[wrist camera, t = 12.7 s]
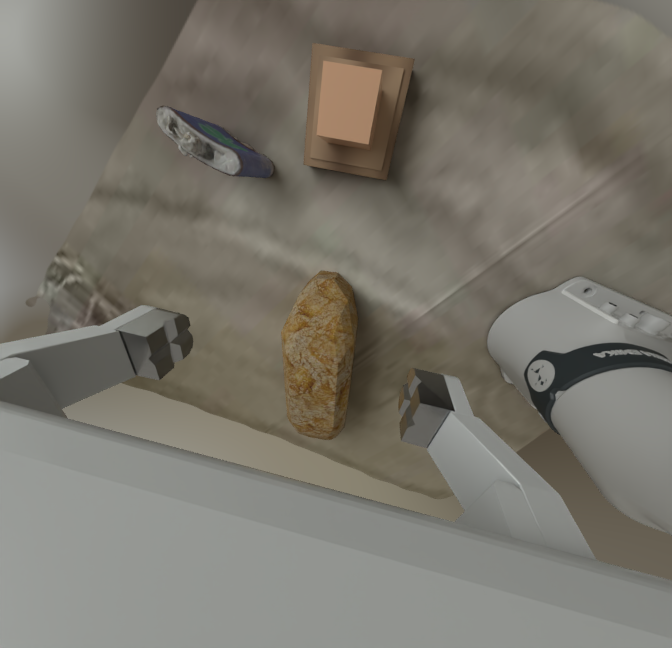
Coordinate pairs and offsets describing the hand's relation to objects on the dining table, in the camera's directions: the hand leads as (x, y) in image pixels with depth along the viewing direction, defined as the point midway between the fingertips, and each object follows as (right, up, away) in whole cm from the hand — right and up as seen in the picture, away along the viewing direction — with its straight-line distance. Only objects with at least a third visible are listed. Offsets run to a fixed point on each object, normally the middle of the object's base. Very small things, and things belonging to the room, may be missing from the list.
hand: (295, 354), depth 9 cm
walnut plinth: (+4, +24, +19) cm, 31 cm away
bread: (-1, -6, +38) cm, 39 cm away
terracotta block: (+3, +23, +17) cm, 29 cm away
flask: (-11, +23, +23) cm, 34 cm away
